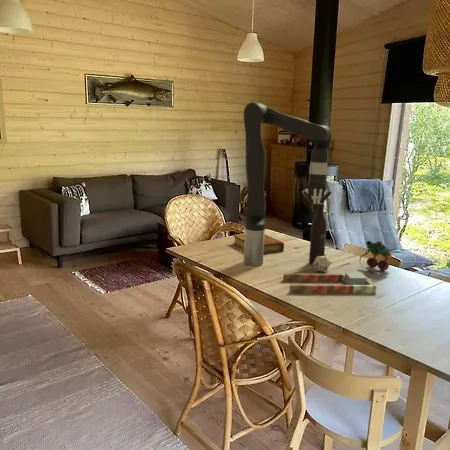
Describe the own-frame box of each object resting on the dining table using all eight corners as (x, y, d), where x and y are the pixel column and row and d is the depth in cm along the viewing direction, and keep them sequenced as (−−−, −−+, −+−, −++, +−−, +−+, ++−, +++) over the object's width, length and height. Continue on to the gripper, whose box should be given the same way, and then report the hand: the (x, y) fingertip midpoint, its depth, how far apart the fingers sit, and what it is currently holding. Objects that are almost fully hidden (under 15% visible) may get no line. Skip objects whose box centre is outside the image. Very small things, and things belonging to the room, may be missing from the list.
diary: (283, 252, 238) (284, 242, 236) (253, 256, 230) (253, 245, 228) (261, 241, 258) (262, 232, 256) (233, 244, 250) (233, 234, 248)
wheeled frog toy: (389, 279, 208) (399, 250, 211) (380, 270, 198) (390, 240, 201) (361, 272, 217) (370, 244, 220) (351, 263, 207) (361, 234, 210)
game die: (323, 280, 206) (332, 268, 198) (306, 272, 207) (314, 260, 199) (327, 266, 212) (336, 254, 204) (311, 259, 213) (319, 246, 205)
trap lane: (290, 292, 179) (290, 285, 179) (283, 280, 194) (283, 273, 193) (375, 293, 182) (376, 286, 181) (362, 280, 196) (363, 274, 196)
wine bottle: (319, 266, 213) (324, 205, 207) (306, 263, 217) (310, 203, 211) (325, 263, 219) (330, 203, 212) (312, 260, 223) (317, 201, 216)
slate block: (349, 288, 187) (350, 278, 186) (344, 282, 194) (345, 272, 193) (365, 288, 188) (366, 278, 187) (360, 282, 195) (361, 272, 194)
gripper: (305, 173, 188) (302, 213, 192) (335, 174, 189) (332, 214, 192) (301, 171, 195) (298, 210, 199) (330, 172, 196) (327, 210, 200)
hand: (315, 212), depth 196 cm, fingers closed
